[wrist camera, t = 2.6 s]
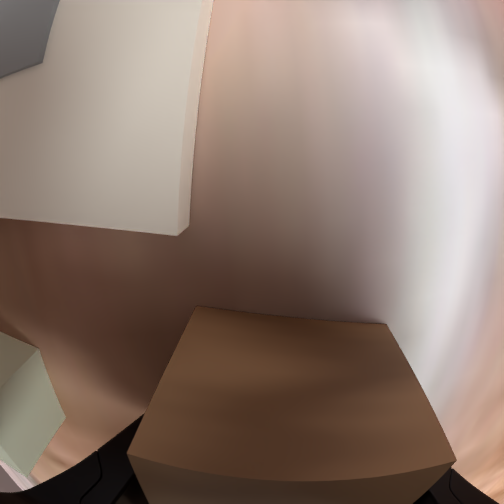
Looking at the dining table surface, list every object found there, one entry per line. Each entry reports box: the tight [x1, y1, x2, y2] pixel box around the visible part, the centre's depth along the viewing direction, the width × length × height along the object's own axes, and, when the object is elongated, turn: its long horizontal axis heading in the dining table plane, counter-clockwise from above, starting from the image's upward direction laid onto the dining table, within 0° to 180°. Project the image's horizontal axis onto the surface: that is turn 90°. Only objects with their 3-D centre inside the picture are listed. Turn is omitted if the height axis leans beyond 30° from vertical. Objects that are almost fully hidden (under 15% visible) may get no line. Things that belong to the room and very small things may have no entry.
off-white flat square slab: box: [0, 0, 214, 236], centre depth 5 cm, size 16×16×1 cm
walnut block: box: [127, 306, 457, 504], centre depth 7 cm, size 6×6×5 cm
